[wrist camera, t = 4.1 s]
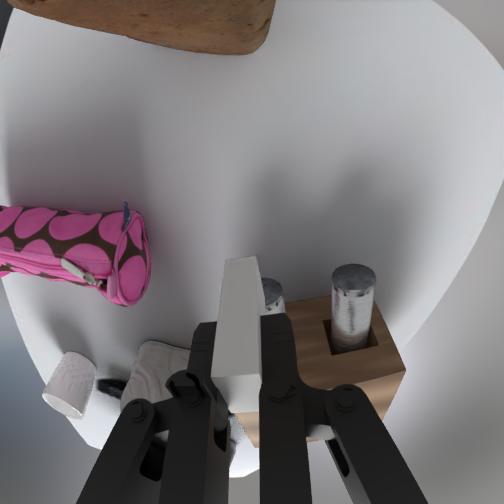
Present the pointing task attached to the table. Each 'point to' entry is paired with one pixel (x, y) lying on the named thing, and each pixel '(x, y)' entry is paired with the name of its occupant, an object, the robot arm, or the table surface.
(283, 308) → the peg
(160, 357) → the teapot
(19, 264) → the pencil case
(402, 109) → the table surface
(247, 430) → the walnut block
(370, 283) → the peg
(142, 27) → the block
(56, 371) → the white cup
